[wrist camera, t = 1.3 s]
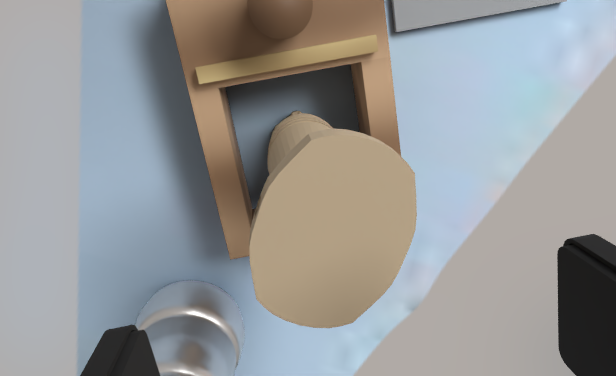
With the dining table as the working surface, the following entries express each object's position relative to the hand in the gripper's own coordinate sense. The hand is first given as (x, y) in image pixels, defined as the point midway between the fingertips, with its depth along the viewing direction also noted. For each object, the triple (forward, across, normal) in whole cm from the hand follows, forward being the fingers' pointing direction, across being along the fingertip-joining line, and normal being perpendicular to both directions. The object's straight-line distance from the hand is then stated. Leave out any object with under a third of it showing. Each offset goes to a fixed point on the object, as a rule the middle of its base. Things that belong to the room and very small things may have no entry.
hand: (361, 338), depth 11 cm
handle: (+20, 0, -1) cm, 20 cm away
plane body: (+19, 0, -3) cm, 20 cm away
